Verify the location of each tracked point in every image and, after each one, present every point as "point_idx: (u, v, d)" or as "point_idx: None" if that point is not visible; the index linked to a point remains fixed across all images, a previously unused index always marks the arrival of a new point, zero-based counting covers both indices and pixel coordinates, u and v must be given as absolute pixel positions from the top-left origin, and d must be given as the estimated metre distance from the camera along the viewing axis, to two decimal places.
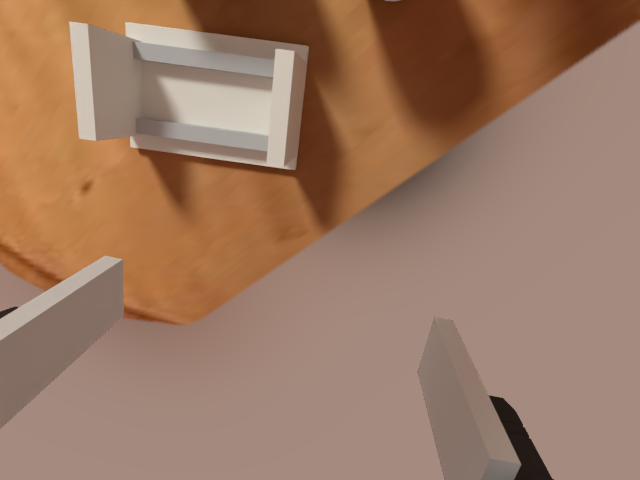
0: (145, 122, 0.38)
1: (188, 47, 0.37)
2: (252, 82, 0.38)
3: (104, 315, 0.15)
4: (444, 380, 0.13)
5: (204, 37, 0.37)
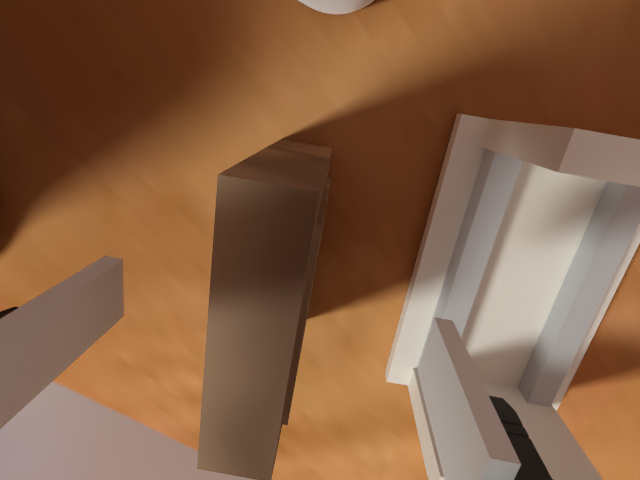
0: (537, 391, 0.24)
1: (431, 307, 0.24)
2: (502, 217, 0.22)
3: (104, 315, 0.15)
4: (444, 380, 0.13)
5: (421, 283, 0.24)
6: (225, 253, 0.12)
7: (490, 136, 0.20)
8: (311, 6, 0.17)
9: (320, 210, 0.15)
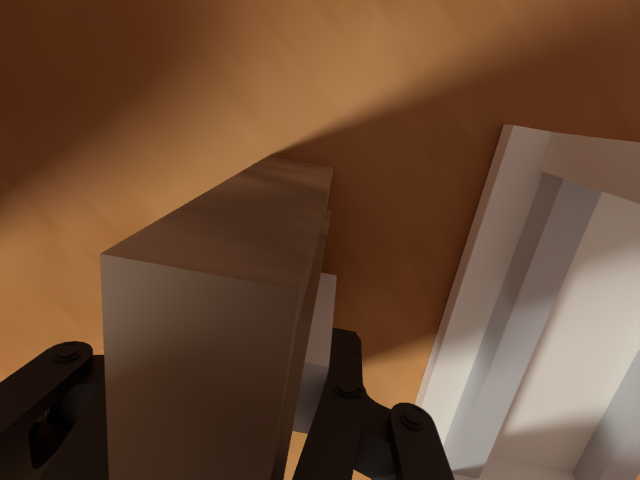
0: None
1: (464, 374, 0.19)
2: None
3: None
4: None
5: (452, 343, 0.18)
6: (128, 390, 0.06)
7: (554, 156, 0.14)
8: None
9: (311, 281, 0.09)
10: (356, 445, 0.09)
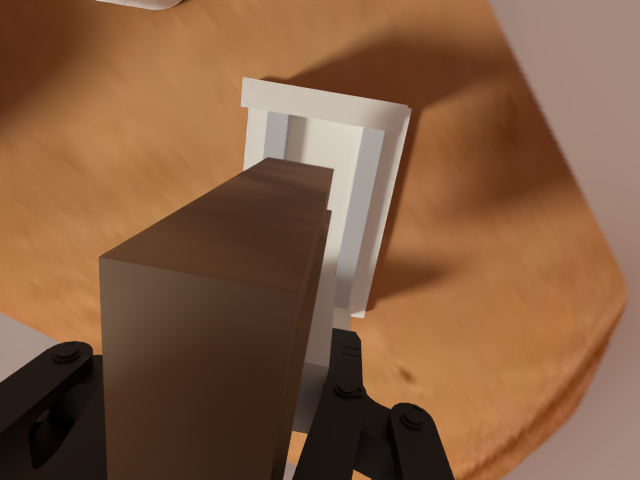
0: (335, 295, 0.32)
1: None
2: (294, 160, 0.30)
3: None
4: None
5: None
6: (127, 393, 0.06)
7: None
8: None
9: (310, 283, 0.09)
10: (356, 445, 0.09)
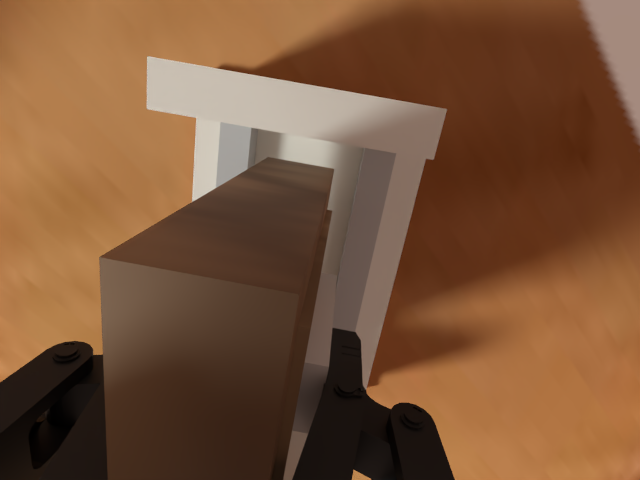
0: None
1: None
2: None
3: None
4: None
5: None
6: (128, 393, 0.06)
7: None
8: None
9: (311, 283, 0.09)
10: (356, 445, 0.09)
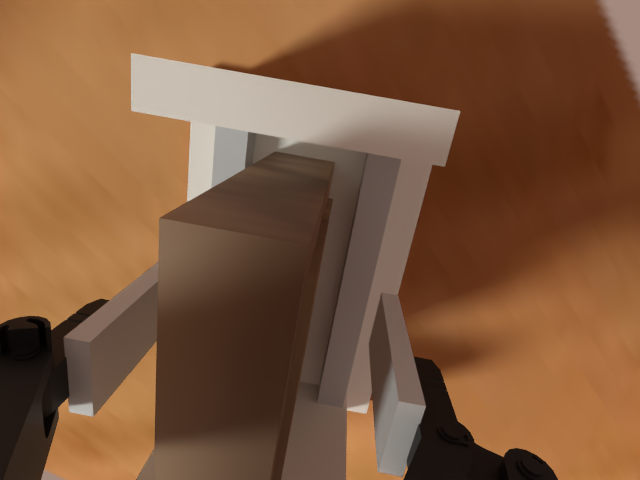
0: (325, 389, 0.21)
1: None
2: None
3: None
4: (382, 345, 0.14)
5: None
6: (175, 327, 0.08)
7: None
8: None
9: (315, 252, 0.11)
10: None
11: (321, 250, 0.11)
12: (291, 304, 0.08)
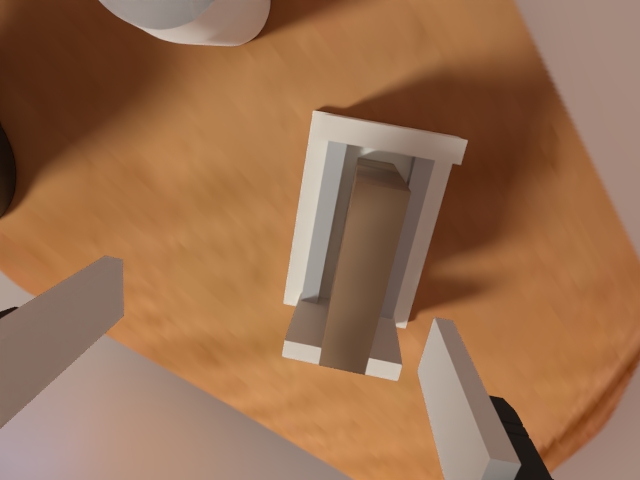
0: None
1: (308, 246, 0.35)
2: (348, 181, 0.32)
3: (104, 315, 0.15)
4: (444, 380, 0.13)
5: (300, 228, 0.34)
6: (354, 226, 0.21)
7: None
8: None
9: None
10: None
11: None
12: (402, 215, 0.21)
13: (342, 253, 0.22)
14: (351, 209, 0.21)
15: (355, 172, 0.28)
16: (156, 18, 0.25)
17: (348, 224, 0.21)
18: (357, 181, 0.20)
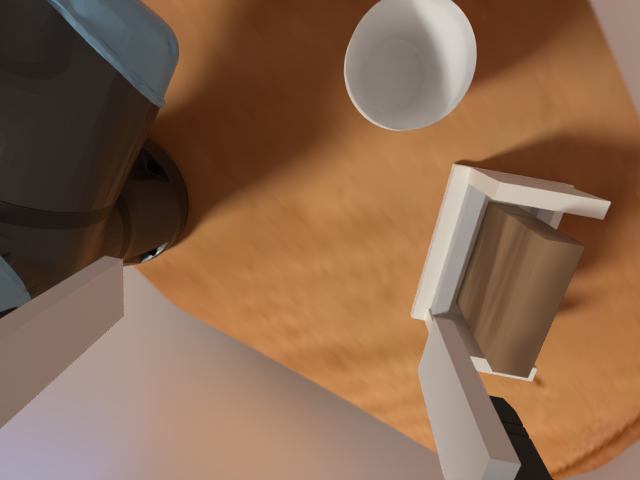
0: None
1: (439, 271, 0.42)
2: (478, 219, 0.40)
3: (104, 315, 0.15)
4: (445, 380, 0.13)
5: (433, 257, 0.41)
6: (538, 270, 0.29)
7: (470, 176, 0.38)
8: (380, 115, 0.35)
9: None
10: None
11: None
12: (575, 263, 0.28)
13: (525, 289, 0.29)
14: (537, 258, 0.28)
15: (500, 217, 0.36)
16: (358, 103, 0.32)
17: (533, 269, 0.29)
18: (544, 238, 0.28)
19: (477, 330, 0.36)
